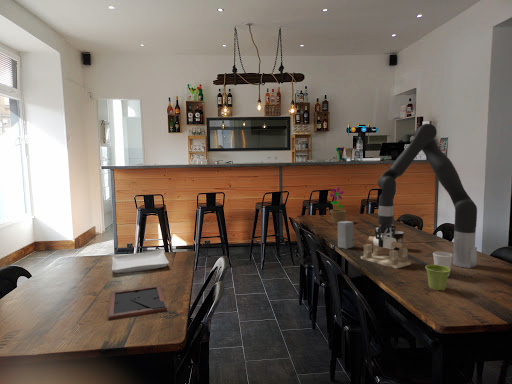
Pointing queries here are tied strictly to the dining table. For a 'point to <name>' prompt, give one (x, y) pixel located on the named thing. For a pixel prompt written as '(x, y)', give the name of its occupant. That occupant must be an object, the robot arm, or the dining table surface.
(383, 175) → the robot arm
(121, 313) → the picture frame
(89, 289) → the dining table surface
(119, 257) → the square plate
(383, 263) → the holder
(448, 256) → the dixie cup
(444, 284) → the plant pot
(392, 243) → the roll
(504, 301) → the dining table surface
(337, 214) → the flowerpot
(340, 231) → the skincare box
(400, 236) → the coffee mug
